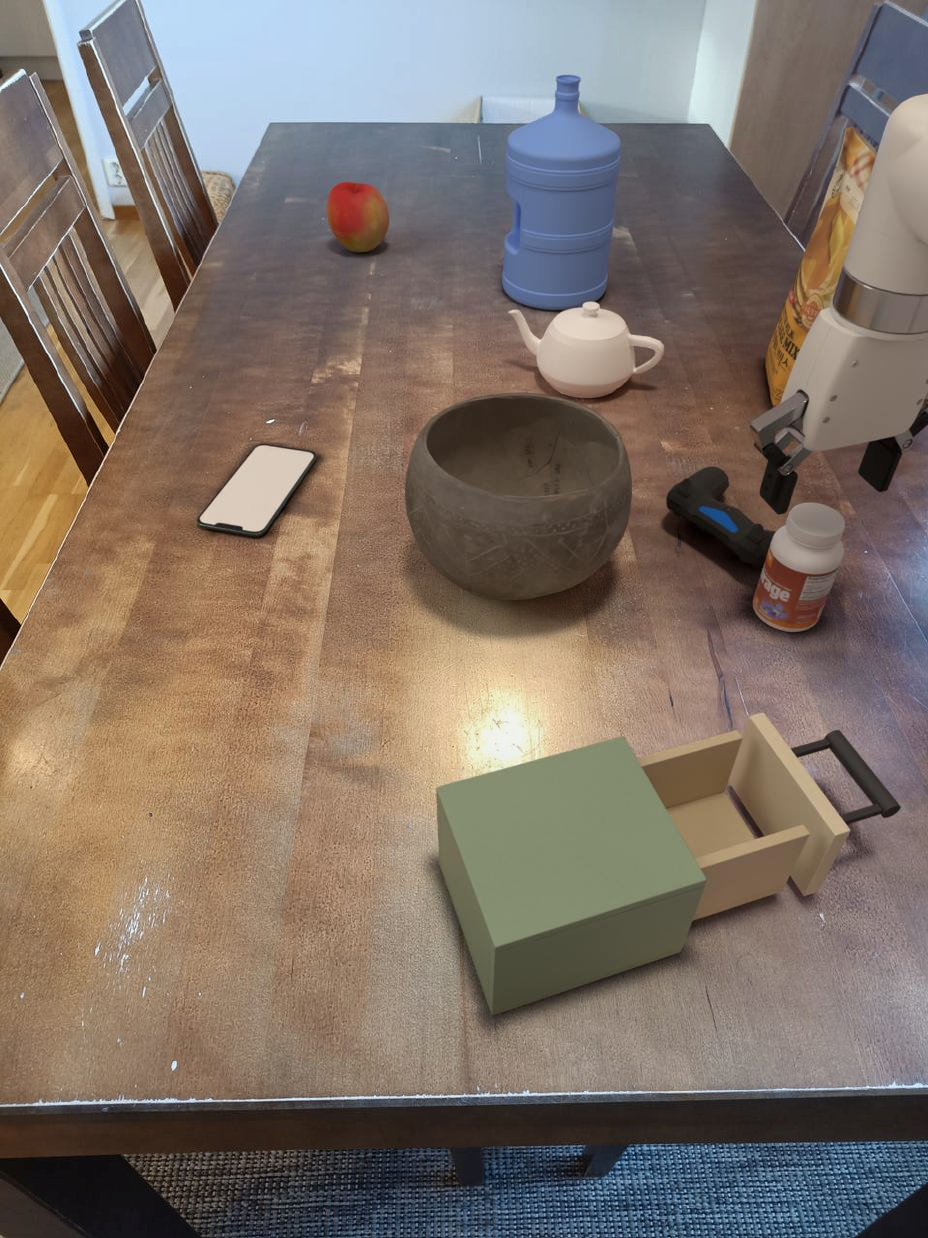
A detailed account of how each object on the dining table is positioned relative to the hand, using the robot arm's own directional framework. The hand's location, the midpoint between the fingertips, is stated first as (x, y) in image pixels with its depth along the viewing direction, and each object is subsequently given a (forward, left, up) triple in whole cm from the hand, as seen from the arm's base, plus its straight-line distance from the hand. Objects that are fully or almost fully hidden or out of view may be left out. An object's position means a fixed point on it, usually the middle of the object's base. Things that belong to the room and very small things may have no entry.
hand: (822, 493), depth 75 cm
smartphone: (+35, +44, -14) cm, 58 cm away
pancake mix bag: (+36, -24, -14) cm, 45 cm away
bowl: (+14, +22, -14) cm, 29 cm away
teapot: (+46, +1, -14) cm, 48 cm away
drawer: (-21, +17, -13) cm, 30 cm away
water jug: (+72, -6, -14) cm, 73 cm away
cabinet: (-21, +32, -14) cm, 41 cm away
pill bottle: (0, 0, -14) cm, 14 cm away
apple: (+96, +18, -14) cm, 98 cm away
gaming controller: (+11, -1, -14) cm, 17 cm away
